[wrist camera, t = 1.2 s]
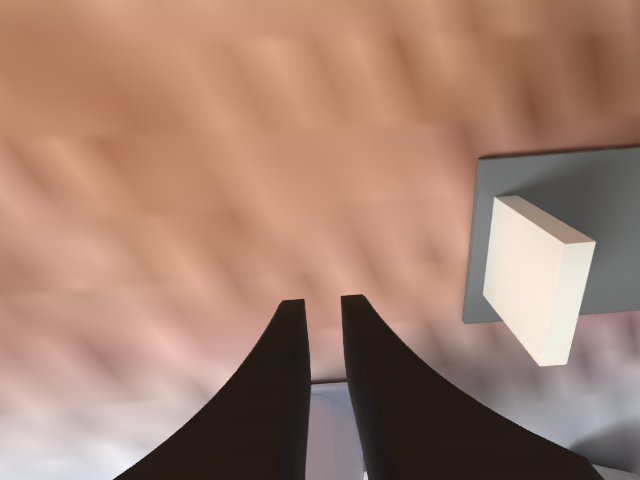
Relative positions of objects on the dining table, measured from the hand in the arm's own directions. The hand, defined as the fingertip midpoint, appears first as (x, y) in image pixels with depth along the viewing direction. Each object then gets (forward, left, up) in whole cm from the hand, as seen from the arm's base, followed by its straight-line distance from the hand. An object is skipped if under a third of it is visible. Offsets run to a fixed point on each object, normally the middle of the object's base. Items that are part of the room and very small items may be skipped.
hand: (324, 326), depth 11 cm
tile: (-3, -10, -10) cm, 14 cm away
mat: (-3, -15, -10) cm, 18 cm away
